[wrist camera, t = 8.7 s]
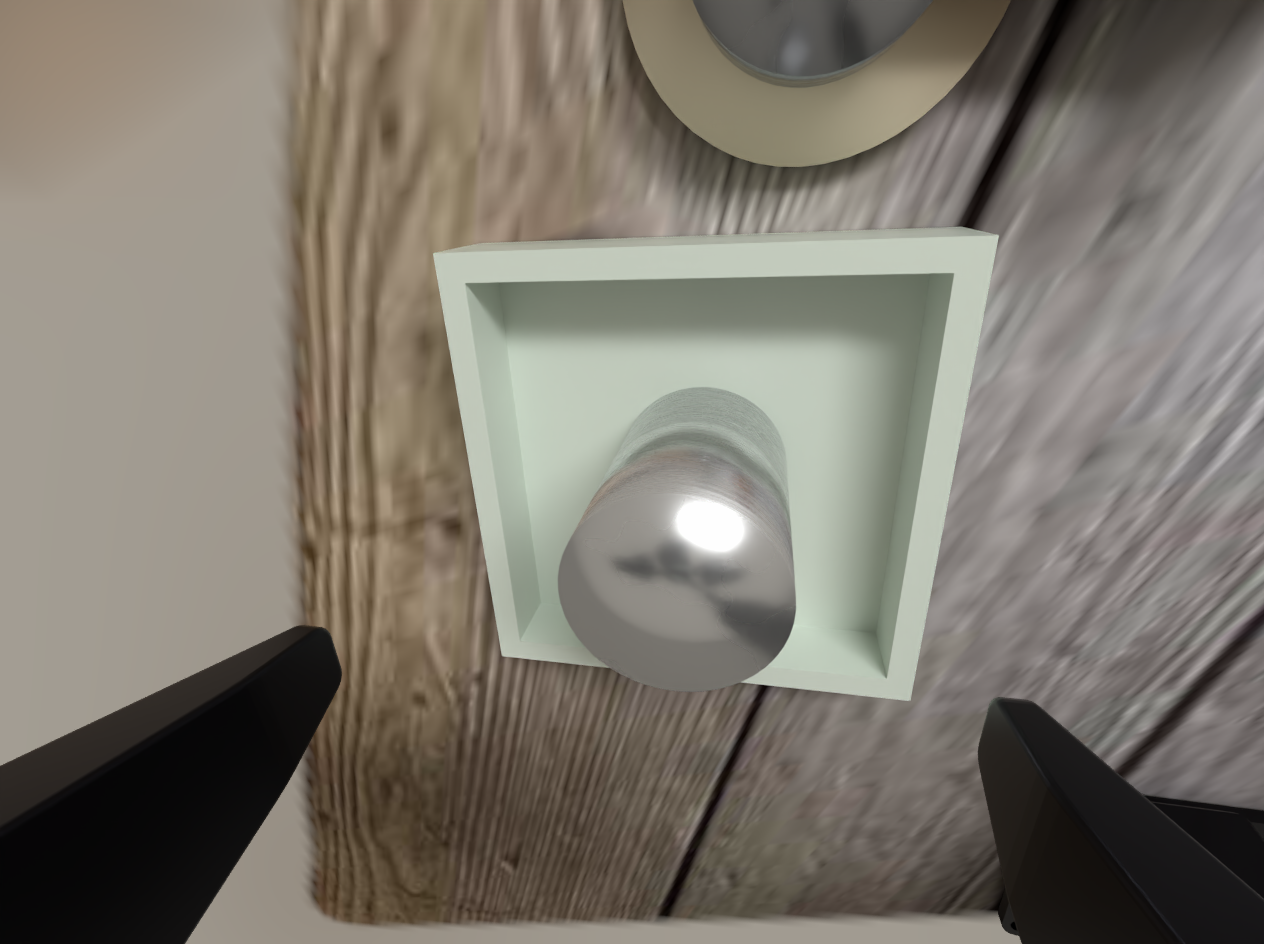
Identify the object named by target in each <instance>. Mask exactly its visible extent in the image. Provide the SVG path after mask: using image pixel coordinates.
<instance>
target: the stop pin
mask: <svg viewBox="0 0 1264 944" xmlns="http://www.w3.org/2000/svg"><path fill="white" fill-rule="evenodd" d="M558 593H559V598H560V603H561V606H562V609H563V612H564V615H565V617H566V619H567V621H568V623H569V625H570V627H571V629H572V630H573V632H574V633H575V635H576V636H577V638H578V639H579V640H580V641H581V643H582V644H583V645H584V646H585V647H586V648H587V649H588V650H589V651H590V652H591V653H592V654H593V655H594V656H595V657H596V658H597V659H598V660H600V661H601V662H602V663H604V664H605V665H606V666H608V667H609V668H611V669H613V670H614V671H616V672H618V673H619V674H621V675H623V676H625V677H627V678H629V679H631V680H634V681H636V682H639V683H642V684H645V685H648V686H651V687H655V688H659V689H665V690H671V691H681V692H702V691H710V690H717V689H721V688H725V687H729V686H732V685H735V684H737V683H740V682H742V681H745V680H746V679H748V678H750V677H752V676H754V675H756V674H757V673H758V672H760V671H761V670H763V669H764V668H765V667H767V666H768V665H769V664H770V663H771V662H772V661H773V660H774V659H775V658H776V657H777V655H778V654H779V653H780V651H781V650H782V649H783V647H784V646H785V644H786V642H787V640H788V638H789V636H790V634H791V631H792V628H793V625H794V620H795V614H796V591H795V576H794V562H793V547H792V533H791V518H790V503H789V489H788V474H787V460H786V453H785V447H784V444H783V441H782V438H781V436H780V434H779V432H778V430H777V428H776V427H775V425H774V424H773V422H772V421H771V419H770V418H769V417H768V416H767V415H766V414H765V413H764V412H763V411H762V410H761V409H760V408H759V407H758V406H756V405H755V404H754V403H752V402H751V401H749V400H748V399H746V398H744V397H742V396H740V395H738V394H735V393H733V392H730V391H727V390H722V389H718V388H710V387H693V388H687V389H681V390H678V391H675V392H672V393H669V394H667V395H665V396H663V397H661V398H659V399H658V400H656V401H654V402H653V403H652V404H650V405H649V406H648V407H647V408H646V409H645V410H644V411H643V412H642V413H641V414H640V415H639V416H638V417H637V419H636V421H635V422H634V424H633V425H632V427H631V429H630V430H629V432H628V434H627V436H626V438H625V440H624V441H623V443H622V445H621V447H620V449H619V451H618V452H617V454H616V456H615V458H614V460H613V461H612V463H611V465H610V467H609V469H608V471H607V472H606V474H605V476H604V478H603V480H602V482H601V483H600V485H599V487H598V489H597V491H596V492H595V494H594V496H593V498H592V500H591V502H590V503H589V505H588V507H587V509H586V511H585V512H584V514H583V516H582V518H581V520H580V522H579V523H578V525H577V527H576V529H575V531H574V533H573V534H572V536H571V538H570V540H569V542H568V544H567V546H566V548H565V550H564V552H563V554H562V558H561V561H560V565H559V572H558Z"/></svg>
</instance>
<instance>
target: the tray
mask: <svg viewBox="0 0 1264 944" xmlns="http://www.w3.org/2000/svg"><path fill="white" fill-rule="evenodd" d="M998 237H999V235H996V234H991V233H987V232H982V231H978V230H974V229H969V228H965V227H938V228H909V229H879V230H850V231H821V232H792V233H763V234H734V235H705V236H676V237H647V238H618V239H589V240H560V241H531V242H501V243H479V244H474V245H469V246H465V247H460V248H455V249H450V250H445V251H441V252H436V253H433V256H434V262H435V268H436V273H437V279H438V285H439V291H440V297H441V303H442V308H443V314H444V320H445V326H446V332H447V338H448V343H449V349H450V355H451V361H452V367H453V373H454V378H455V384H456V390H457V396H458V402H459V408H460V413H461V419H462V425H463V431H464V437H465V443H466V448H467V454H468V460H469V466H470V472H471V478H472V483H473V489H474V495H475V501H476V507H477V513H478V518H479V524H480V530H481V536H482V542H483V548H484V554H485V559H486V565H487V571H488V577H489V583H490V589H491V594H492V600H493V606H494V612H495V618H496V624H497V629H498V635H499V641H500V647H501V653H502V656H505V657H514V658H523V659H533V660H542V661H551V662H560V663H569V664H578V665H587V666H596V667H605V668H609V667H608V666H606V665H605V664H604V663H602V662H601V661H600V660H598V659H597V658H596V657H595V656H594V655H593V654H592V653H591V652H590V651H589V650H588V649H587V648H586V647H585V646H584V645H583V644H582V643H581V641H580V640H579V639H578V638H577V636H576V635H575V633H574V632H573V630H572V629H571V627H570V625H569V623H568V621H567V619H566V617H565V615H564V612H563V609H562V606H561V603H560V598H559V593H558V572H559V565H560V561H561V558H562V554H563V552H564V550H565V548H566V546H567V544H568V542H569V540H570V538H571V536H572V534H573V533H574V531H575V529H576V527H577V525H578V523H579V522H580V520H581V518H582V516H583V514H584V512H585V511H586V509H587V507H588V505H589V503H590V502H591V500H592V498H593V496H594V494H595V492H596V491H597V489H598V487H599V485H600V483H601V482H602V480H603V478H604V476H605V474H606V472H607V471H608V469H609V467H610V465H611V463H612V461H613V460H614V458H615V456H616V454H617V452H618V451H619V449H620V447H621V445H622V443H623V441H624V440H625V438H626V436H627V434H628V432H629V430H630V429H631V427H632V425H633V424H634V422H635V421H636V419H637V417H638V416H639V415H640V414H641V413H642V412H643V411H644V410H645V409H646V408H647V407H648V406H649V405H650V404H652V403H653V402H654V401H656V400H658V399H659V398H661V397H663V396H665V395H667V394H669V393H672V392H675V391H678V390H681V389H687V388H693V387H710V388H718V389H722V390H727V391H730V392H733V393H735V394H738V395H740V396H742V397H744V398H746V399H748V400H749V401H751V402H752V403H754V404H755V405H756V406H758V407H759V408H760V409H761V410H762V411H763V412H764V413H765V414H766V415H767V416H768V417H769V418H770V419H771V421H772V422H773V424H774V425H775V427H776V428H777V430H778V432H779V434H780V436H781V438H782V441H783V444H784V447H785V453H786V460H787V474H788V489H789V503H790V518H791V533H792V547H793V562H794V576H795V591H796V614H795V620H794V625H793V628H792V631H791V634H790V636H789V638H788V640H787V642H786V644H785V646H784V647H783V649H782V650H781V651H780V653H779V654H778V655H777V657H776V658H775V659H774V660H773V661H772V662H771V663H770V664H769V665H768V666H767V667H765V668H764V669H763V670H761V671H760V672H758V673H757V674H756V675H754V676H752V677H750V678H748V679H746V680H745V681H742V683H751V684H760V685H769V686H778V687H788V688H797V689H806V690H815V691H824V692H833V693H842V694H851V695H860V696H870V697H879V698H888V699H897V700H906V701H910V699H911V694H912V689H913V684H914V678H915V673H916V668H917V663H918V657H919V652H920V647H921V642H922V636H923V631H924V626H925V621H926V615H927V610H928V605H929V600H930V594H931V589H932V584H933V579H934V573H935V568H936V563H937V558H938V552H939V547H940V542H941V537H942V531H943V526H944V521H945V516H946V510H947V505H948V500H949V495H950V489H951V484H952V479H953V474H954V468H955V463H956V458H957V453H958V447H959V442H960V437H961V432H962V426H963V421H964V416H965V411H966V405H967V400H968V395H969V390H970V384H971V379H972V374H973V369H974V363H975V358H976V353H977V348H978V342H979V337H980V332H981V327H982V321H983V316H984V311H985V306H986V300H987V295H988V290H989V285H990V279H991V274H992V269H993V264H994V258H995V253H996V248H997V243H998Z"/></svg>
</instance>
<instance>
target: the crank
mask: <svg viewBox="0 0 1264 944" xmlns="http://www.w3.org/2000/svg"><path fill="white" fill-rule="evenodd" d="M932 1H933V0H693V3H694V5H695V7H696V10H697V12H698V15H699V17H700V19H701V22H702V24H703V26H704V28H705V30H706V31H707V33H708V35H709V36H710V38H711V40H712V41H713V43H714V44H715V45H716V46H717V48H718V49H719V50H720V52H721V53H722V54H723V55H724V56H725V57H726V58H727V59H728V60H729V61H730V62H731V63H732V64H733V65H735V66H736V67H738V68H739V69H740V70H742V71H743V72H745V73H746V74H748V75H750V76H752V77H754V78H756V79H758V80H760V81H763V82H766V83H769V84H773V85H776V86H783V87H790V88H807V87H813V86H820V85H825V84H828V83H831V82H835V81H838V80H841V79H843V78H845V77H847V76H850V75H852V74H854V73H856V72H858V71H859V70H861V69H863V68H864V67H866V66H868V65H869V64H871V63H872V62H874V61H875V60H876V59H878V58H879V57H880V56H881V55H883V54H884V53H885V52H887V51H888V50H889V49H890V48H891V47H892V46H893V45H894V44H895V43H896V42H897V41H898V40H899V39H900V38H901V37H902V36H903V35H904V34H905V33H906V31H907V30H908V29H909V28H910V27H911V26H912V25H913V24H914V23H915V21H916V20H917V19H918V18H919V17H920V16H921V15H922V13H923V12H924V11H925V10H926V9H927V7H928V6H929V5H930V4H931V3H932Z"/></svg>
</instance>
